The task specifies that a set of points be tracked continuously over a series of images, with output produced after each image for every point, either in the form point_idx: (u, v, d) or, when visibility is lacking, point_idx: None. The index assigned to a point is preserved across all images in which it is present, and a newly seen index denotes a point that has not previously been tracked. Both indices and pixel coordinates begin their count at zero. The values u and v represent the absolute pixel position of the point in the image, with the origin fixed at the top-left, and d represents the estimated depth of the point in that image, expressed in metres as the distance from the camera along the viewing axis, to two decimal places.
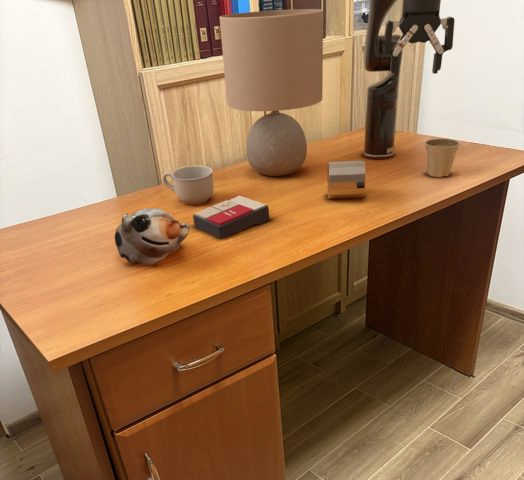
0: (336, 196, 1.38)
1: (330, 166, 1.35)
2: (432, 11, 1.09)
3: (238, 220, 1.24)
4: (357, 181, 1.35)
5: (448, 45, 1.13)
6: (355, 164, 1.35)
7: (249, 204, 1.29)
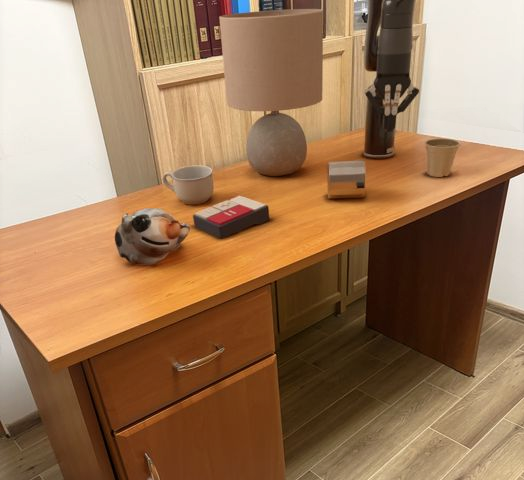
0: (336, 196, 1.38)
1: (330, 166, 1.35)
2: (402, 74, 1.21)
3: (238, 220, 1.24)
4: (357, 181, 1.35)
5: (401, 108, 1.27)
6: (355, 164, 1.35)
7: (249, 204, 1.29)
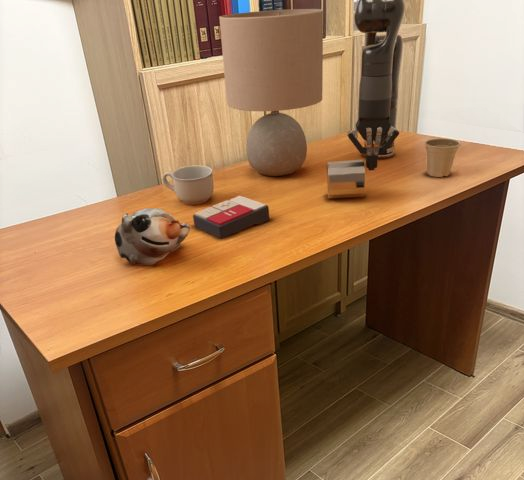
0: (336, 196, 1.38)
1: (329, 166, 1.35)
2: (383, 118, 1.27)
3: (238, 220, 1.24)
4: (356, 180, 1.35)
5: (382, 148, 1.33)
6: (354, 163, 1.35)
7: (249, 204, 1.29)
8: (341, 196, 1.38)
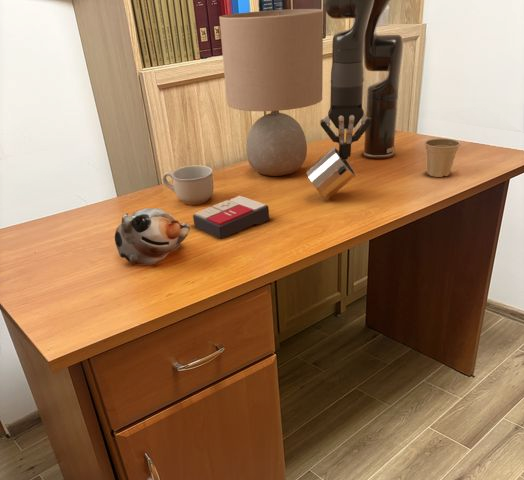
0: (331, 193, 1.38)
1: (308, 174, 1.37)
2: (354, 105, 1.26)
3: (238, 220, 1.24)
4: (337, 169, 1.33)
5: (355, 137, 1.31)
6: (327, 156, 1.34)
7: (249, 204, 1.29)
8: (335, 190, 1.37)
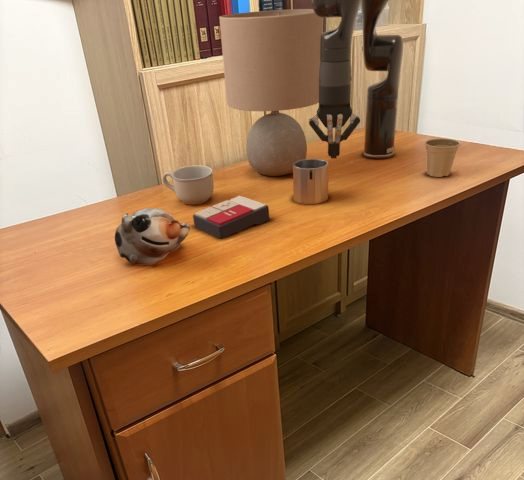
0: (323, 194, 1.38)
1: (295, 199, 1.41)
2: (342, 104, 1.26)
3: (238, 220, 1.24)
4: (307, 177, 1.35)
5: (343, 136, 1.32)
6: (294, 175, 1.37)
7: (249, 204, 1.29)
8: (324, 189, 1.37)
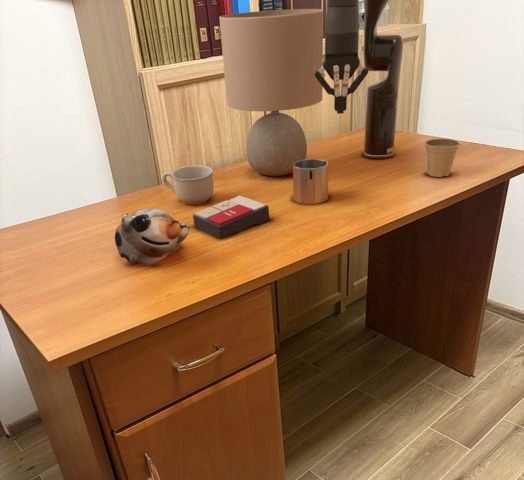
0: (323, 194, 1.38)
1: (295, 199, 1.41)
2: (350, 53, 1.20)
3: (238, 220, 1.24)
4: (307, 177, 1.35)
5: (351, 89, 1.26)
6: (294, 175, 1.37)
7: (249, 204, 1.29)
8: (324, 189, 1.37)
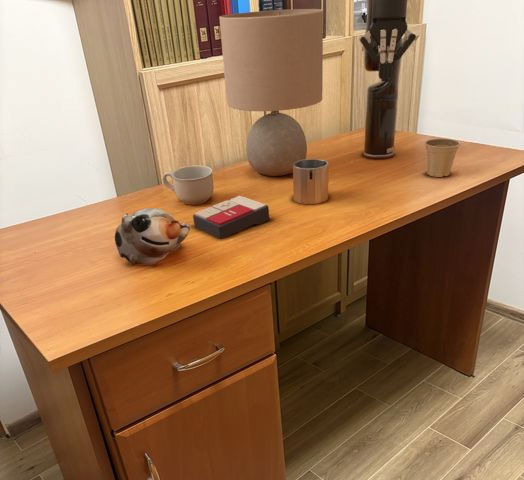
0: (323, 194, 1.38)
1: (295, 199, 1.41)
2: (398, 17, 1.17)
3: (238, 220, 1.24)
4: (307, 177, 1.35)
5: (397, 55, 1.23)
6: (294, 175, 1.37)
7: (249, 204, 1.29)
8: (324, 189, 1.37)
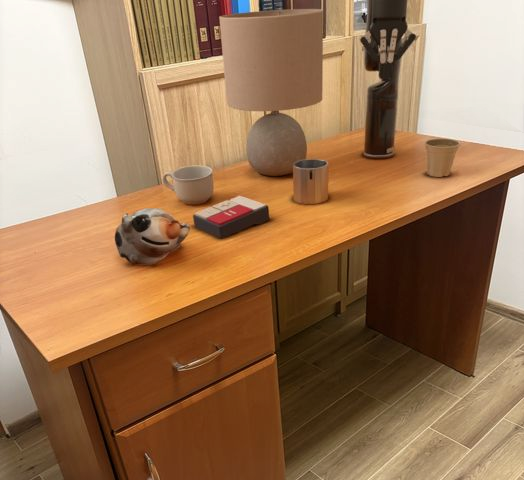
0: (323, 194, 1.38)
1: (295, 199, 1.41)
2: (398, 17, 1.17)
3: (238, 220, 1.24)
4: (307, 177, 1.35)
5: (397, 55, 1.23)
6: (294, 175, 1.37)
7: (249, 204, 1.29)
8: (324, 189, 1.37)
